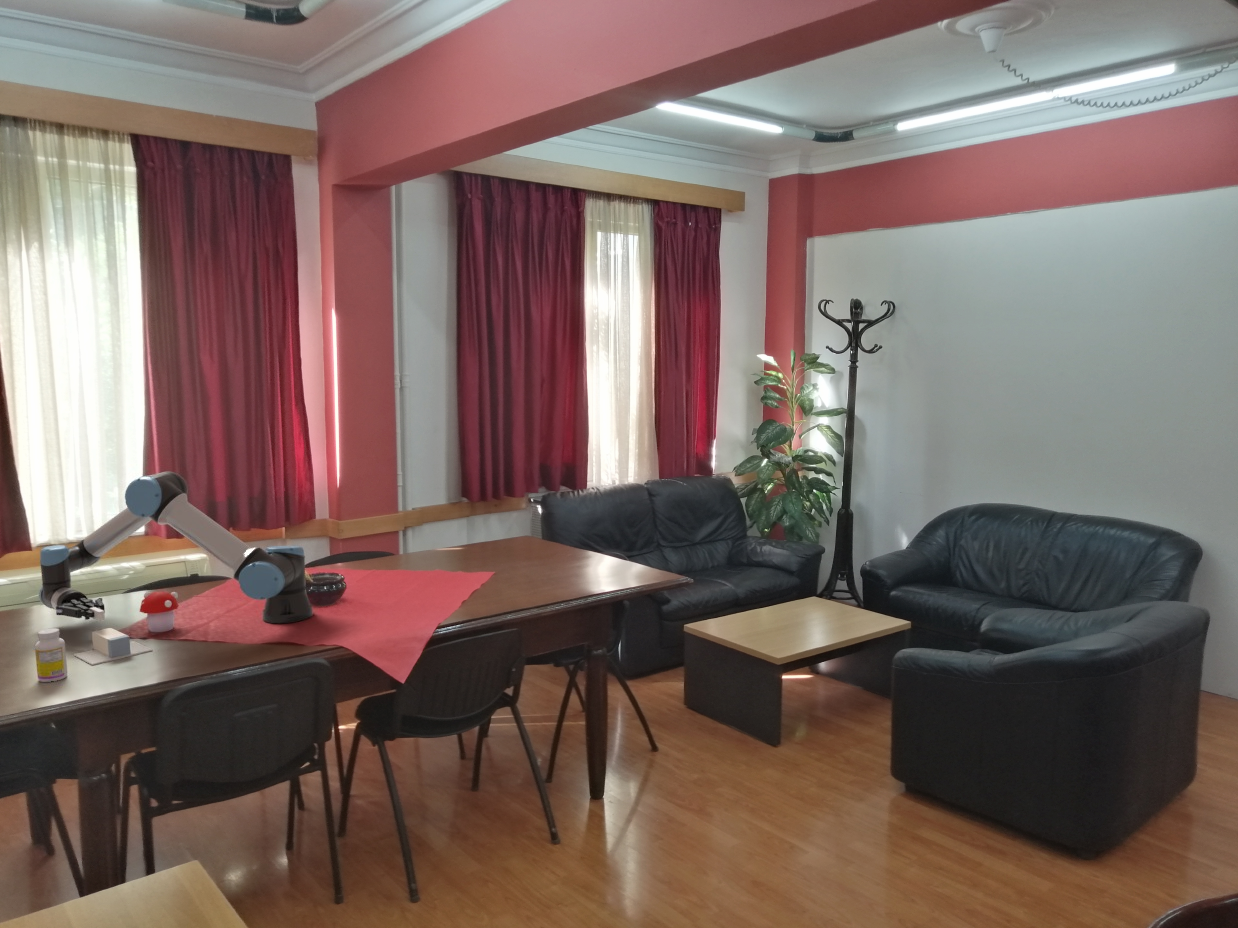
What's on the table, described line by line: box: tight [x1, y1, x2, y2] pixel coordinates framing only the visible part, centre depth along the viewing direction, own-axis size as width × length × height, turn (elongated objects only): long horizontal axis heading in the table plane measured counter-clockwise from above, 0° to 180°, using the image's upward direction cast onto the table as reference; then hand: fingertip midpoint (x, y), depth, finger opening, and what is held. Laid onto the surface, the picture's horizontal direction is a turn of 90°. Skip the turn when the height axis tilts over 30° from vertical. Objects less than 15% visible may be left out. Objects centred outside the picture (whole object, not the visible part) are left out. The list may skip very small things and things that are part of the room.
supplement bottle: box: [34, 628, 68, 683], centre depth 241 cm, size 7×7×13 cm
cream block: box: [91, 627, 131, 658], centre depth 263 cm, size 5×5×13 cm
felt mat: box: [73, 640, 153, 666], centre depth 262 cm, size 13×16×1 cm
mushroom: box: [139, 590, 179, 633], centre depth 284 cm, size 11×11×12 cm
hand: (101, 615), depth 265 cm, fingers closed
